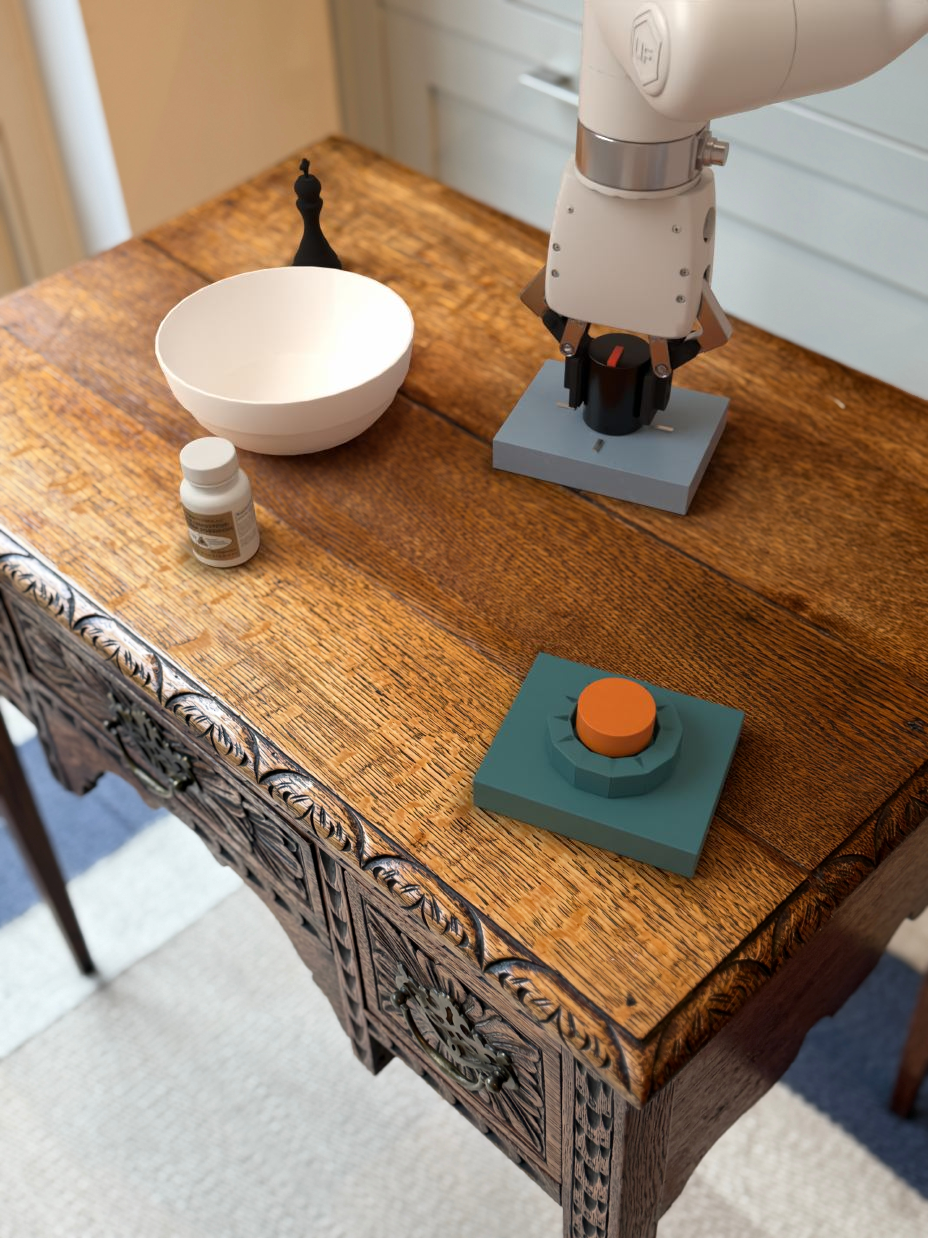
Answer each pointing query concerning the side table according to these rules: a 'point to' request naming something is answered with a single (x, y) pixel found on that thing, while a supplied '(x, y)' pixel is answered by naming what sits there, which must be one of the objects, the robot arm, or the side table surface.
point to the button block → (610, 769)
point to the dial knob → (615, 383)
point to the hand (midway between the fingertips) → (615, 403)
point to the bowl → (287, 356)
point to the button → (615, 717)
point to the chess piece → (312, 224)
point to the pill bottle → (217, 503)
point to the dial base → (612, 445)
